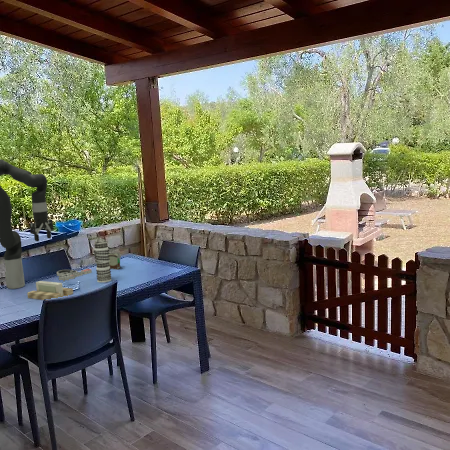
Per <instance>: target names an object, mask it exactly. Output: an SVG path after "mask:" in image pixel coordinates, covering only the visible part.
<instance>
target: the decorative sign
mask: <svg viewBox="0 0 450 450" xmlns="http://www.w3.org/2000/svg"><path fill="white" fill-rule="evenodd" d="M89 274H92V268H86V269H82V270H80V271H77V270H74V269H61V270H58V271H56V276H57V277H58V276H59V277H58V280H59V281H60V280H63V281H62V282H66V281H65V280H67V281H70V280H69V279H71V280H73V279H75V278H78V277H81V276H83V275H89Z"/></svg>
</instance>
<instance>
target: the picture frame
mask: <svg viewBox="0 0 450 450" xmlns="http://www.w3.org/2000/svg"><path fill="white" fill-rule="evenodd" d="M35 288H36V291H42V292H51V293H60V294H61V296H64V295H63V288H64V287H63V282H55V281H45V280H39V281H36V282H35Z"/></svg>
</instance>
